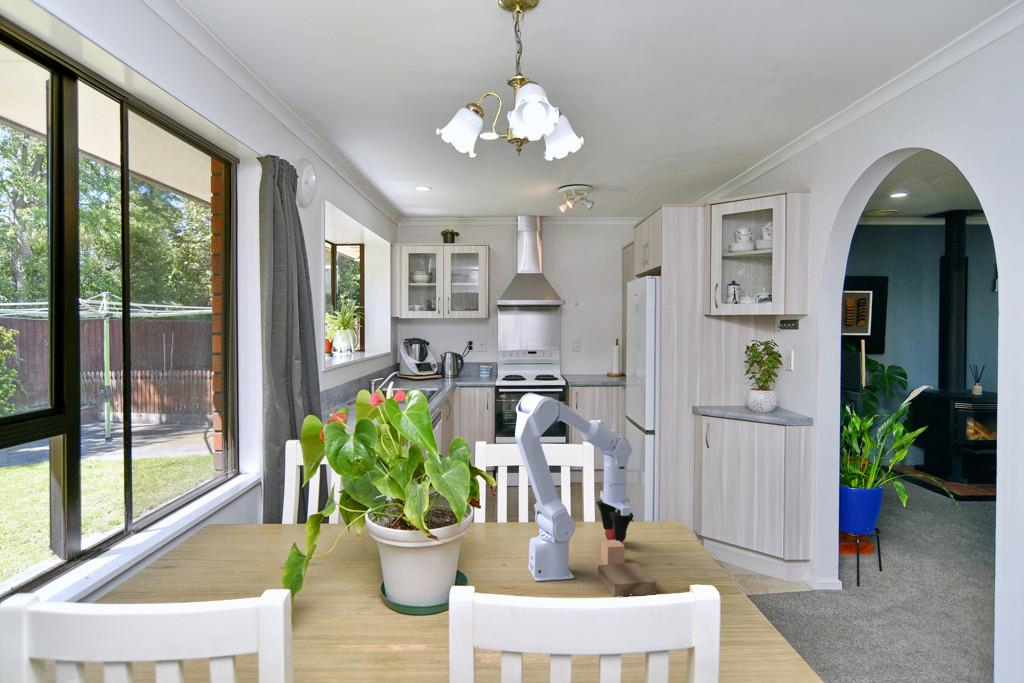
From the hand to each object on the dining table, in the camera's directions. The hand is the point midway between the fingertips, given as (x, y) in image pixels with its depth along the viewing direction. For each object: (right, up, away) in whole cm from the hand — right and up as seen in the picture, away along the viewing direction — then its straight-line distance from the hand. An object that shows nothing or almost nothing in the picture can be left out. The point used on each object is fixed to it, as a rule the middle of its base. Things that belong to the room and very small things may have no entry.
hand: (613, 534), depth 140 cm
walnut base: (+1, -7, -13) cm, 15 cm away
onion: (+3, -7, +11) cm, 13 cm away
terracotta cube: (0, -7, 0) cm, 7 cm away
